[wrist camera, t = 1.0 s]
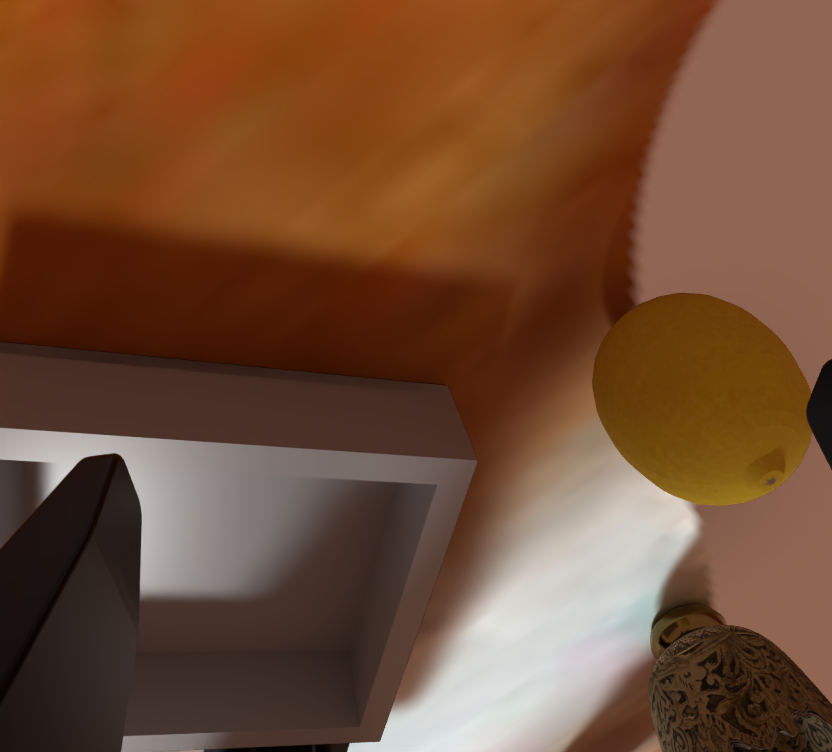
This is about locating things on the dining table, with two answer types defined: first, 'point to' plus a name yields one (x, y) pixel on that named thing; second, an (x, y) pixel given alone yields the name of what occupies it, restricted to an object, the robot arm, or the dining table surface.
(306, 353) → the dining table surface
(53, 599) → the robot arm
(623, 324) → the lemon
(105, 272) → the dining table surface
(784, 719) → the cup
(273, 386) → the bin
